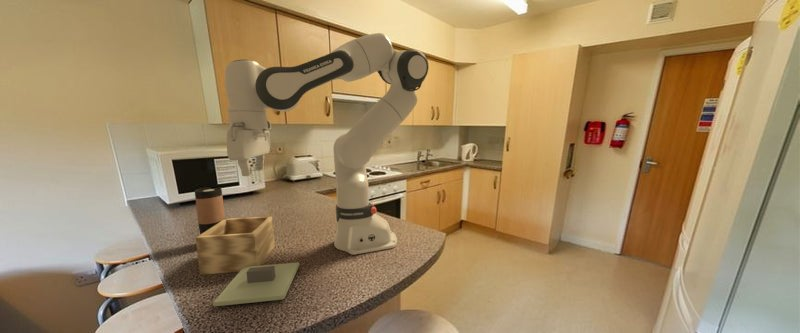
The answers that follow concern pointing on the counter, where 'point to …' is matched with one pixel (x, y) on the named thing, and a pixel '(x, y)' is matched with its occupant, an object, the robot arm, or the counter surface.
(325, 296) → the counter surface
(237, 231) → the box
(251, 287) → the lid
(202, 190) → the travel mug
